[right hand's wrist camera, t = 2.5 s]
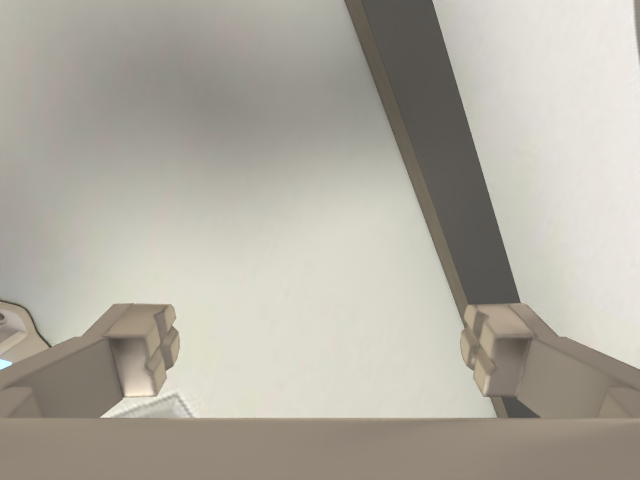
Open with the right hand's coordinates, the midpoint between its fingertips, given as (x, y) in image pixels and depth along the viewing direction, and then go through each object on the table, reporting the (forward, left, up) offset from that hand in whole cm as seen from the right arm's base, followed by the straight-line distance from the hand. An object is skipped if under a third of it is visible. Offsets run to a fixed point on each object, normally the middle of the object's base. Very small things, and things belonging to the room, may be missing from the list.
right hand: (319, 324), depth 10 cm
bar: (+18, 0, -26) cm, 32 cm away
